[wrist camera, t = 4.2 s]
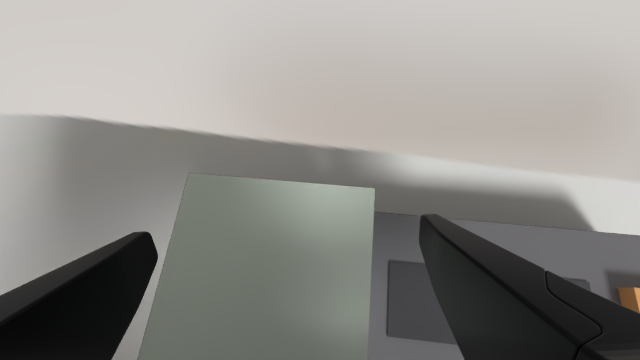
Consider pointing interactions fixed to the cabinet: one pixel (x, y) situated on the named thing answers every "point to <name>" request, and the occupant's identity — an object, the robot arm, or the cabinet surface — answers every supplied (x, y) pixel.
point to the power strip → (525, 241)
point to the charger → (264, 273)
